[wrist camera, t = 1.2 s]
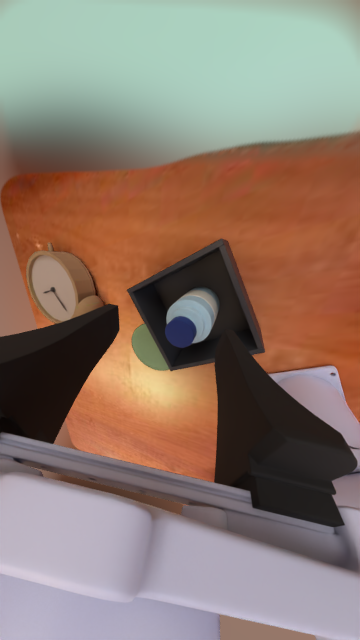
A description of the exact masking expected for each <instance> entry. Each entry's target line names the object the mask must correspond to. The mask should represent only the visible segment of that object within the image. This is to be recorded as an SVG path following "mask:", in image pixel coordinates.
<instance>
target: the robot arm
mask: <svg viewBox="0 0 360 640" xmlns="http://www.w3.org/2000/svg"><path fill="white" fill-rule="evenodd" d="M118 332H119V314H118V306H117V305H112V304H107V305H105V306H102V307H99V308H97V309H95V310H92V311H90V312H87V313H85V314H82V315H80V316H77V317H75V318H72V319H69V320H66V321H64V322H61V323H58V324H54V325H51V326H48V327H44V328H40V329H36V330H32V331H27V332H23V333H19V334H14V335H9V336H4V337H0V640H220V615H219V614H222V615H226V616H231V617H235V618H240V619H244V620H249V621H253V622H258V623H262V624H267V625H271V626H276V627H281V628H285V629H290V630H294V631H299V632H303V633H308V634H312V635H315V638H316V640H360V423H359V422H358V420H357V419H356V417H355V416H354V414H353V413H352V411H351V410H350V408H349V407H348V405H347V404H346V400H345V397H344V393H343V389H342V386H341V382H340V379H339V375H338V371H337V369H336V368H335V367H334V366H323V367H316V368H309V369H302V370H295V371H288V372H281V373H274V374H267V373H266V372H265V371H264V370H263V368H262V367H261V366H260V365H259V364H258V363H257V362H256V360H255V359H254V358H253V357H252V355H251V354H250V353H249V352H248V350H247V349H246V348H245V346H244V345H243V343H242V342H241V341H240V339H239V338H238V336H237V335H236V334H235V332H234V331H233V330H229V329H224V330H223V332H222V335H221V337H220V340H219V343H218V345H217V348H216V350H215V373H216V384H217V395H218V425H217V451H216V467H215V481H214V482H209V481H205V480H201V479H197V478H193V477H189V476H184V475H180V474H176V473H172V472H168V471H163V470H159V469H155V468H151V467H147V466H142V465H138V464H134V463H130V462H126V461H122V460H117V459H113V458H109V457H105V456H101V455H96V454H92V453H88V452H84V451H80V450H76V449H71V448H67V447H63V446H59V445H55V444H53V443H54V441H55V439H56V437H57V435H58V433H59V431H60V429H61V427H62V424H63V422H64V420H65V418H66V416H67V414H68V412H69V411H70V409H71V407H72V405H73V403H74V401H75V399H76V397H77V395H78V394H79V392H80V390H81V388H82V386H83V385H84V383H85V381H86V380H87V378H88V376H89V375H90V373H91V371H92V370H93V368H94V367H95V366H96V364H97V363H98V362H99V360H100V359H101V358H102V356H103V355H104V354H105V352H106V351H107V349H108V348H109V347H110V345H111V344H112V342H113V341H114V339H115V337H116V335H117V334H118ZM330 373H333V374H330ZM29 466H30V467H29ZM31 467H34V468H38V469H42V470H46V471H50V472H54V473H58V474H63V475H67V476H71V477H75V478H79V479H83V480H87V481H91V482H95V483H99V484H103V485H108V486H112V487H116V488H120V489H124V490H128V491H132V492H136V493H141V494H145V495H149V496H153V497H157V498H161V499H165V500H170V501H173V502H177V503H181V504H186V505H184V506H183V507H182V514H176V513H172V512H169V511H166V510H163V509H160V508H157V507H154V506H151V505H148V504H145V503H141V502H137V501H135V500H132V499H129V498H125V497H122V496H118V495H115V494H111V493H107V492H103V491H98V490H95V489H91V488H87V487H83V486H78V485H74V484H70V483H66V482H62V481H58V480H54V479H50V478H46V477H44V476H43V474H42V472H41V471H39V470H37V469H34V468H31ZM189 505H190V506H189Z"/></svg>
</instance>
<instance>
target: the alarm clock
mask: <svg viewBox="0 0 360 640" xmlns="http://www.w3.org/2000/svg"><path fill="white" fill-rule="evenodd" d="M48 250H49V251H43V250H42V251H38V252H34V253H33V255H32V256H31V257H30V258H29V260H28V264H27V268H26V278H27V283H28V288H29V291H30V293H31V296H32V299H33V300H34V302H35V304H36V306H37V307H38V309H39V310H40V311H41V312H42V314H43V315H44V316H45V317H46V318H48V319H49V320H50V321H51V322H54V323H56V324H58V323H61V322H64V321H66V320H69V319H72V318H75V317H77V316H80V315H82V314H85V313H87V312H90V311H92V310H95V309H97V308H99V307H102V306H104V304H103V301H102V300H101V299H100V298H99V297H98V296H95V288H94V284H93V280H92V278H91V276H90V274H89V272H88V270H87V268H86V267H85V266H84V264H83V263H82V262H81V261H80V260H79V259H78V258H77V257H75V256H74V255H72V254H70V253H67V252H54V251H53V246H52V244H51V243H48Z"/></svg>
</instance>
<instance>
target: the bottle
mask: <svg viewBox="0 0 360 640" xmlns="http://www.w3.org/2000/svg"><path fill="white" fill-rule="evenodd" d="M219 307H220V303H219V299H218V297H217V295H216V294H215V293H214V292H213V291H212V290H211V289H209V288H206V287H196V288H194V289H192V290H190V291H189V292H187V293H186V294H185V295H183V296H182V297H181V298H179V299H178V300H177V301H176V302H175V303H174V304H173V305H172V306H171V307H170V308H169V310H168V312H167V317H166V321H167V326H166V328H165V335H166V338H167V340H168V341H169V342H170V343H171V344H172V345H174V346H176V347H179V348H184V347H188V346H189V345H191V344H192V343H197V342H200V341H202V340H204V339H205V338H206V337H207V336H208V335H209V333H210V331H211V328H212V327H213V325H214V322H215V320H216V317H217V314H218V311H219Z"/></svg>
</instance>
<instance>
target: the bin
mask: <svg viewBox="0 0 360 640" xmlns="http://www.w3.org/2000/svg"><path fill="white" fill-rule="evenodd" d="M196 287H206V288H209V289H211V290H212V291H213V292H214V293H215V294H216V295H217V297H218V299H219V303H220V307H219V311H218V314H217V317H216V320H215V322H214V325H213V327H212V328H211V331H210V333H209V335H208V336H207V337H206V338H205V339H204V340H202V341H200V342H197V343H192V344H191V345H189V346H188V347H184V348H179V347H176V346H174V345H172V344H171V343H170V342H169V341H168V340H167V338H166V335H165V328H166V326H167V321H166V317H167V312H168V310H169V308H170V307H171V306H172V305H173V304H174V303H175V302H176V301H177V300H178V299H179V298H181V297H182V296H183V295H185V294H186V293H187V292H189V291H190V290H192V289H194V288H196ZM127 291H128V293H129V295H130V297H131V299H132V300H133V302H134V304H135V306H136V308H137V310H138V312H139V313H140V315H141V317H142V319H143V321H144V323H145V325H146V326H147V328H148V330H149V332H150V334H151V336H152V338H153V339H154V341H155V343H156V345H157V347H158V349H159V351H160V352H161V354H162V356H163V358H164V360H165V362H166V364H167V365H168V367H169V369H170V371H173V370H178V369H183V368H188V367H193V366H198V365H203V364H208V363H213V362H215V350H216V348H217V345H218V343H219V340H220V337H221V335H222V332H223V330H224V329H229V330H233V331H234V332H235V334H236V335H237V336H238V338H239V339H240V341H241V342H242V343H243V345H244V346H245V348H246V349H247V350H248V352H249V353H250V354H251V355H254V354H259V353H264V352H265V349H264V344H263V340H262V335H261V330H260V327H259V324H258V321H257V318H256V316H255V313H254V310H253V308H252V305H251V302H250V300H249V297H248V294H247V292H246V289H245V286H244V284H243V281H242V278H241V275H240V273H239V270H238V267H237V265H236V262H235V259H234V257H233V254H232V251H231V249H230V246H229V243H228V241H226V240H224V239H220V240H218V241H216V242H214V243H213V244H211V245H209V246H207V247H205V248H203V249H201V250H200V251H198V252H196V253H194V254H192V255H190V256H189V257H187V258H185V259H183V260H181V261H179V262H177V263H176V264H174V265H172V266H170V267H168V268H166V269H165V270H163V271H161V272H159V273H157V274H155V275H153V276H152V277H150V278H148V279H146V280H144V281H142V282H141V283H139V284H137V285H135V286H133V287H131V288H129V289H128V290H127Z"/></svg>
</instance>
